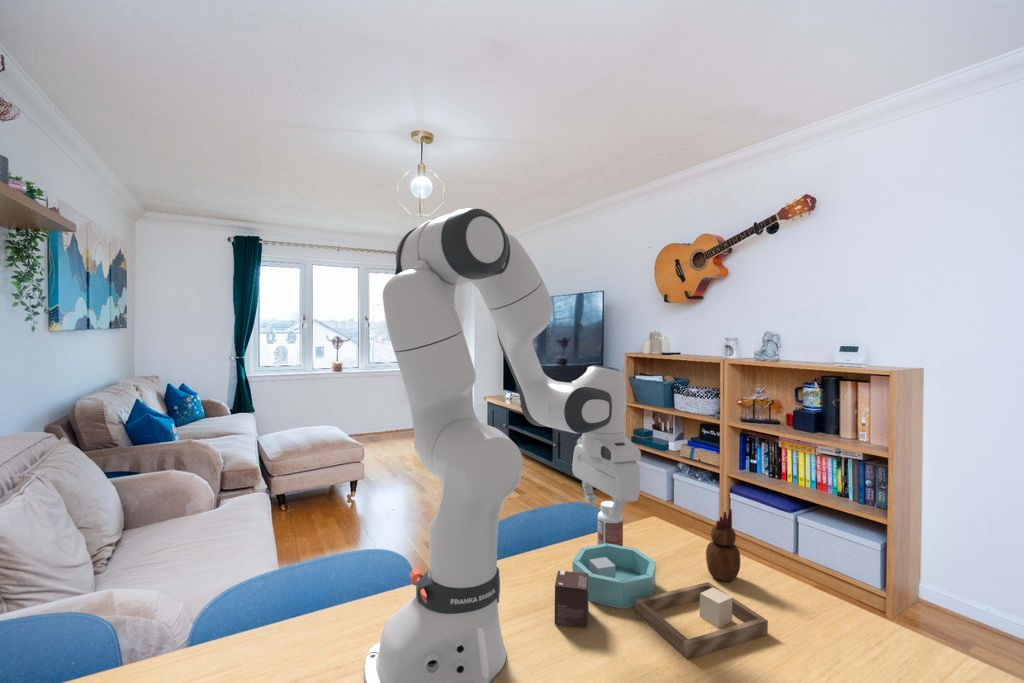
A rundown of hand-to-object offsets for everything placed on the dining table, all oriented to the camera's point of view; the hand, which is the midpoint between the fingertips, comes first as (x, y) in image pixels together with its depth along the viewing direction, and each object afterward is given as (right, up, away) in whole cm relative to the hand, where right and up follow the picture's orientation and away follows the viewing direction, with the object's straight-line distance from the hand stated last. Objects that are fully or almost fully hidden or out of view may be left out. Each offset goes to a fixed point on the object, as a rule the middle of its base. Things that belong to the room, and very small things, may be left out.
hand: (602, 509), depth 99 cm
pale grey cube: (0, -16, 0) cm, 16 cm away
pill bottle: (+6, -16, +19) cm, 26 cm away
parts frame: (+16, -17, -12) cm, 26 cm away
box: (-8, -17, -10) cm, 21 cm away
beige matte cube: (+19, -17, -10) cm, 28 cm away
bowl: (+3, -16, +2) cm, 17 cm away
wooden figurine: (+27, -17, +5) cm, 32 cm away
